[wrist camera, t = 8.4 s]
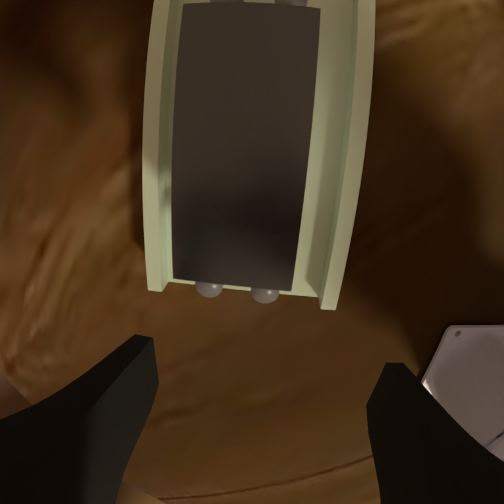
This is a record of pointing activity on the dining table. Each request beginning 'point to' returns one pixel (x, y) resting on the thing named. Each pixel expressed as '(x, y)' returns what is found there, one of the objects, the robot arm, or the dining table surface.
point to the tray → (320, 155)
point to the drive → (241, 141)
